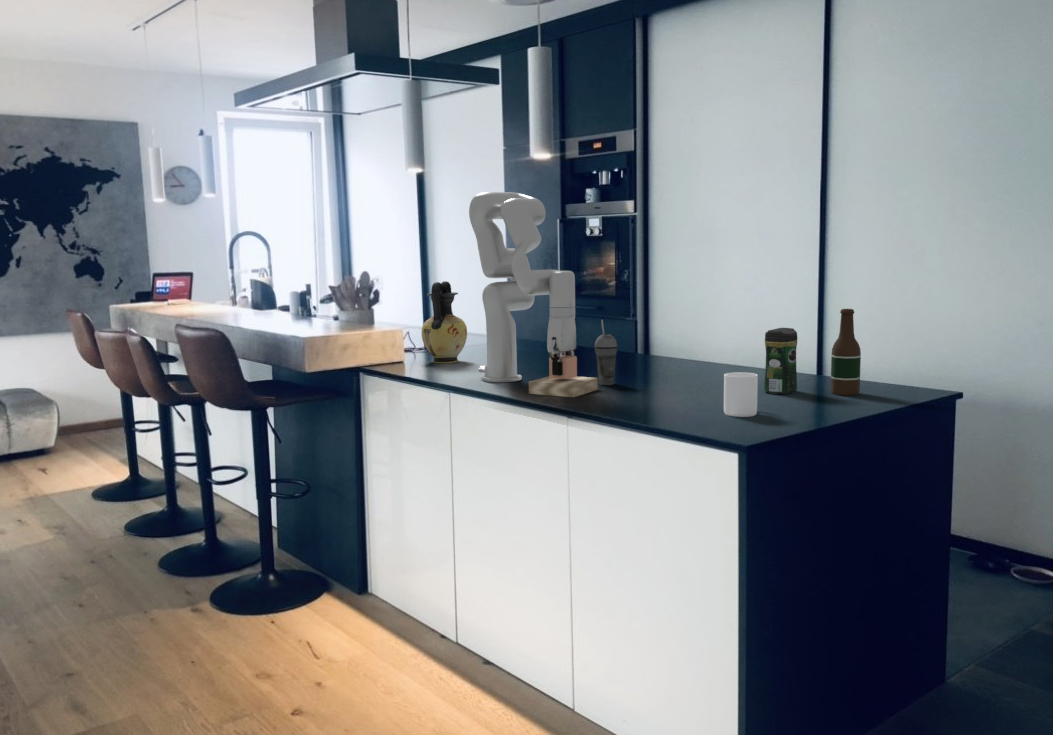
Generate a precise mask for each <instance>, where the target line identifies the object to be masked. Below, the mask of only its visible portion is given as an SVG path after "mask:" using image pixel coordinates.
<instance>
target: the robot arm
mask: <svg viewBox="0 0 1053 735" xmlns="http://www.w3.org/2000/svg"><path fill="white" fill-rule="evenodd" d="M468 208H469V209H468V216H469V220H470V222H469V223H470V224H471V225H470V226H471V227H472V230H473V232H474V235H475V239H476V243H477V250H478V255H479V261H480V264H481V265H480V266H481V269H482V272H483V275H484V276H485V277H486V278H489V279H510V280H509V281H507V280H506V281H495V282H490V283H489V284H487V285H485V287H484V289H483V291H482V298H481V299H482V303H483V308H484V309H483V310H484V313H485V314H484V316H485V324H486V326H485V328H486V329H485V330H486V360H487V361H486V362H487V365H480V366H479V368H478V370H477V371H478V373H484V375H483V376H482V380H483V381H484V382H488V383H513V382H519V381H521V380H522V379H523V378H522V377H523V376H522V375H521V374H518V365H517V364H518V363H517V362H518V360H517V327H516V326H517V325H516V321H515V319H514V317H513V316H512V314H511V312H515V311H524V310H525V311H526V310H528V309H530V308H531V307H532V306H533V305H534V302H535V297H536V296H548V295H549V299H548V300H549V318H548V326H547V337H546V338H547V339H546V342H547V343H546V348H547V352H548V355H549V357H551V362H552V375H559V376H561V375H562V374H563V372H562V362H561V358H562V355H564V356H575V354H576V350H577V348H578V344H577V327H576V326H577V325H576V320H575V319H576V279H575V278H576V277H575V273H574V272H573V271H572V270H558V269H554V268H553V269H549V268H548V269H531V266H530V265H531V264H530V262H529V259H528V256H527V254H529V253H530V252H532V251H533V250H535V249H536V248H537V247H539V246H540V244H541V242H542V236H541V232H539V229H538V227H537V226H539V225H542V223H543V222H544V221H545V219H546V214H547V213H546V208H545V205H544V204H543V202H542V201H541V200H540V199H538V198H536V197H534V196H533V197H532V196H529V195H526V194H524V193H520V192H511V191H510V192H506V191H504V192H502V191H485V192H480V193H477V194H476V195H474V196H473V197H472V199H471V201H470V203H469V207H468ZM494 220H503V222H504V224H505V227H506V229H507V231H508V234H509V236H510V238H511V241H512V243H513V246H514V247H515V248H511V247H510V248H509V247H508V248H507V247H506V246H505V242H504V236H503V233H502V231H501V230H500V228H499V226H498V225H497V224H496V223H495V222H494Z"/></svg>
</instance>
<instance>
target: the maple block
mask: <svg viewBox="0 0 1053 735" xmlns="http://www.w3.org/2000/svg"><path fill="white" fill-rule="evenodd" d="M598 385H599V379H598V377H593V376H592V377H591V376H589V377H587V376H578V375H577V376H576V377H573V378H569V379H560V378H549V375H548V376H545V377H541V378H537V379H534V380H530V381H528V394H529V395H530V394H531V395H542V396H553V397H566V398H576V397H579V396H582V395H585V394H588V393H591V392H594V391H598V388H599V387H598Z"/></svg>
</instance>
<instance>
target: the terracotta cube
mask: <svg viewBox="0 0 1053 735" xmlns="http://www.w3.org/2000/svg"><path fill="white" fill-rule="evenodd" d="M561 362H562V372H563V374H562V375H561V376H559V375H552V362H551V357H550V356H549V358H548V371H549V373H548V374H549V375H548V376H549V378H560V379H569V378H573V377H576V376H578V355H577V356H576V355H574V356H564V354H562V358H561Z"/></svg>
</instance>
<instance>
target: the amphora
mask: <svg viewBox="0 0 1053 735" xmlns="http://www.w3.org/2000/svg"><path fill="white" fill-rule="evenodd" d="M456 295H459V292H454V291H453V292H452V285H451V283H450V282H449V281H441V282H439V281H436V282H435V281H434V282H433V284H432V286H431V292H430V293H427V294H426V296H429V297H430V299H431V300H430V301H431V303H432V310H433V312H432V313H433V316H431V317H430V318H428V319H427V320H425V321H424V323H423V324H422V327H421V340H422V342H423V345H424V347H425V349H426V351H427V352H428V353H429V354H430V355H431V356H432V357H433V363H434V364H454V362H455V363H458V362H459V359H458V356H459V355H460V353H461V352H463V349H464V348H465V345H466V342H467V339H468V328H467V324H466V322H465V321H464V320H463V319H462V318H460V317H459V316H456V315H454V314H453V313H454V312H453V309H452V308H453V307H452V305H453V304H452V303H454V300H455V297H456Z"/></svg>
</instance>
